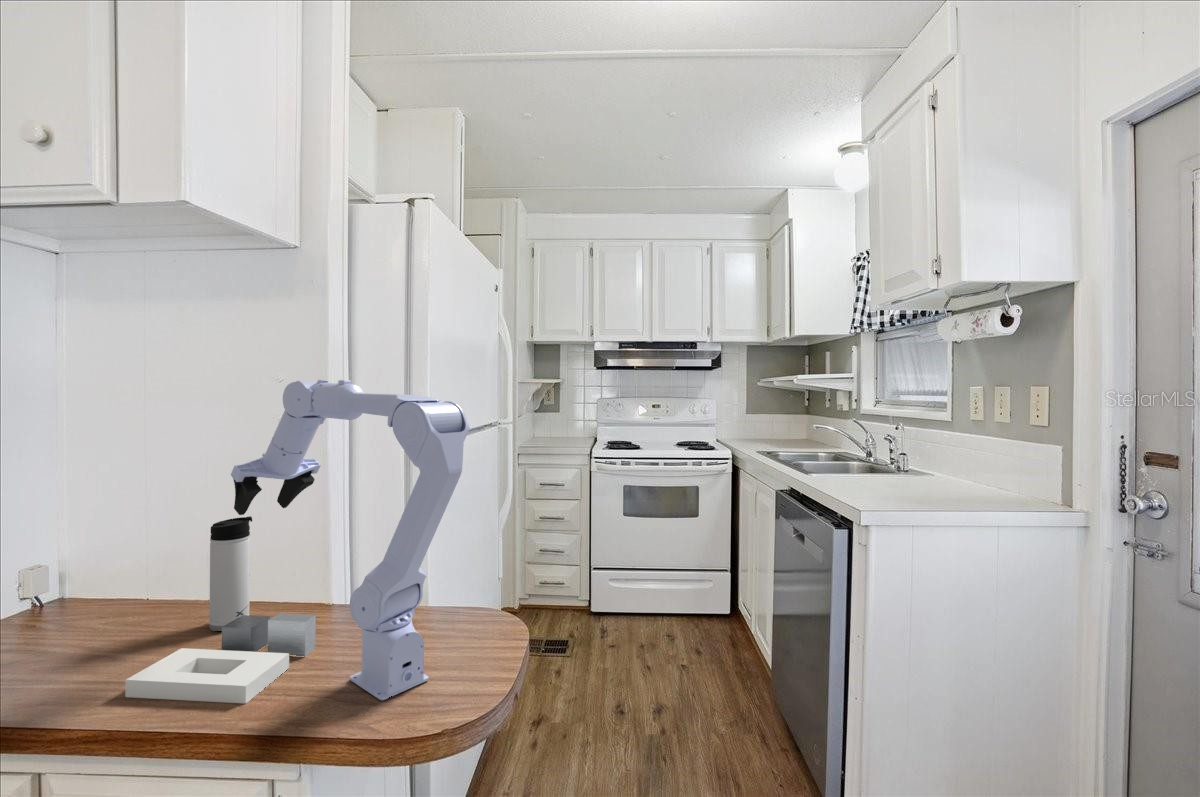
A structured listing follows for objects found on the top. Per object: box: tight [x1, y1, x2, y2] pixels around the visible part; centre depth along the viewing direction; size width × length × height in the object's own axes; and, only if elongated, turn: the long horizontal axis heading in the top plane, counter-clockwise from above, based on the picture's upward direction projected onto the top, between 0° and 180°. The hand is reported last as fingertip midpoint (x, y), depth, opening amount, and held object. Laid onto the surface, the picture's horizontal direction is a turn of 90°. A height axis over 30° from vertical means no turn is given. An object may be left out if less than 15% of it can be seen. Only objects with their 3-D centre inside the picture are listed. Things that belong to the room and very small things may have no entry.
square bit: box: [221, 614, 271, 652], centre depth 96 cm, size 5×5×5 cm
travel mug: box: [208, 515, 253, 632], centre depth 106 cm, size 6×7×20 cm
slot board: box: [124, 647, 290, 704], centre depth 85 cm, size 18×10×2 cm, turn 86°
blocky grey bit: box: [267, 612, 317, 658], centre depth 96 cm, size 6×3×6 cm, turn 86°
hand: (260, 507), depth 99 cm, fingers open, 7 cm apart
